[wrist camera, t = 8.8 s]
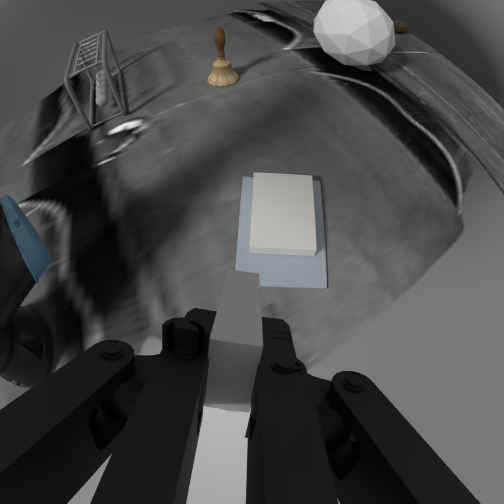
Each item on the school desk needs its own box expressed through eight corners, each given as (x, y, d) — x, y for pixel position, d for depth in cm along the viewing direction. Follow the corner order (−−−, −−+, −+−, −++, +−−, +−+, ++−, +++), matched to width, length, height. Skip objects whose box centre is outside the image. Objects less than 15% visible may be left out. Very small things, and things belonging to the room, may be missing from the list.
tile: (316, 250, 42) (311, 175, 48) (249, 247, 43) (253, 172, 48) (313, 256, 45) (309, 184, 50) (249, 253, 45) (253, 181, 51)
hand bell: (208, 72, 67) (202, 24, 52) (238, 70, 67) (236, 21, 52) (206, 88, 63) (199, 35, 49) (239, 85, 64) (237, 32, 49)
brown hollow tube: (395, 28, 91) (398, 18, 85) (406, 35, 88) (410, 24, 82) (376, 27, 88) (379, 16, 82) (388, 34, 85) (391, 22, 79)
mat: (326, 288, 43) (326, 288, 43) (234, 285, 43) (234, 284, 43) (319, 182, 51) (320, 180, 51) (242, 178, 51) (242, 176, 51)
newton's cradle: (91, 83, 70) (74, 41, 53) (120, 70, 71) (106, 26, 55) (90, 134, 59) (62, 81, 42) (127, 117, 60) (105, 60, 44)
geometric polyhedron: (328, 84, 77) (285, 28, 59) (348, 40, 77) (312, -11, 59) (399, 85, 61) (365, 15, 43) (409, 38, 61) (380, -23, 43)
